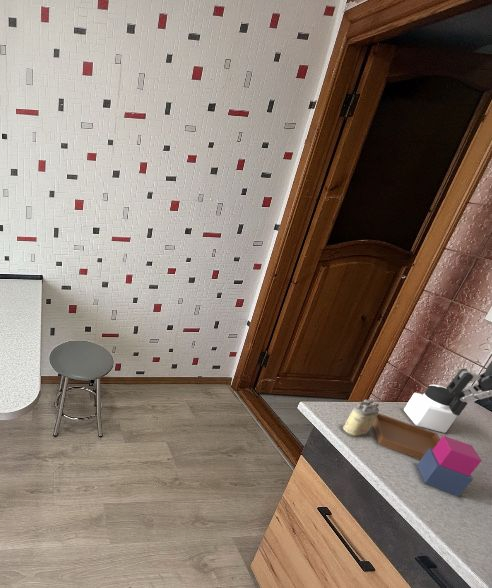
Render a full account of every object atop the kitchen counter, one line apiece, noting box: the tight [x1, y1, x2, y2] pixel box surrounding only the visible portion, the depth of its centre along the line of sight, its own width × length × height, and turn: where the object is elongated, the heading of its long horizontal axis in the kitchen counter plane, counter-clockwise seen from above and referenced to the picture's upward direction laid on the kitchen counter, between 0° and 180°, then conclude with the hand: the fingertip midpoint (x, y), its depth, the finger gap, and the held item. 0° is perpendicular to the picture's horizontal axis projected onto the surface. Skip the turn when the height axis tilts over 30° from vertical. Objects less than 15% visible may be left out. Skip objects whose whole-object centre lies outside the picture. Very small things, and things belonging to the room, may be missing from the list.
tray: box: [372, 412, 441, 461], centre depth 90 cm, size 14×12×2 cm
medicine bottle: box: [403, 383, 458, 434], centre depth 96 cm, size 7×7×12 cm
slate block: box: [416, 448, 474, 497], centre depth 79 cm, size 6×6×6 cm
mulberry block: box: [432, 435, 483, 476], centre depth 76 cm, size 5×5×5 cm
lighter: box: [342, 399, 380, 437], centre depth 91 cm, size 7×4×10 cm, turn 105°
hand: (480, 421), depth 72 cm, fingers open, 8 cm apart
